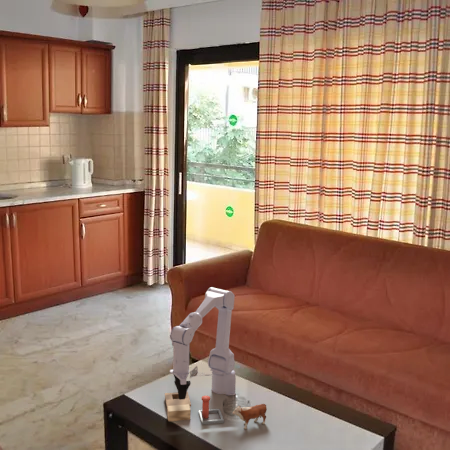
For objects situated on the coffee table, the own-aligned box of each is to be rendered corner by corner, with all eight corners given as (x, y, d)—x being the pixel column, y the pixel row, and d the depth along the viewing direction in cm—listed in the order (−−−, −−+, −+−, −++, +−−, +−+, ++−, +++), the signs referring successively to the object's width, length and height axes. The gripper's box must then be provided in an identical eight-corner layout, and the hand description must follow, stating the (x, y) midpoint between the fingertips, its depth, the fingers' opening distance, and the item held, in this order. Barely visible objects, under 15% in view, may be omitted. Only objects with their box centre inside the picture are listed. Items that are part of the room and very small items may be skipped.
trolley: (186, 396, 221) (187, 389, 220) (191, 414, 208) (191, 407, 207) (164, 398, 219) (164, 390, 218) (167, 416, 206) (167, 408, 205)
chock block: (188, 416, 207) (189, 404, 206) (190, 422, 203) (190, 409, 202) (167, 418, 205) (167, 405, 204) (168, 424, 201) (168, 411, 200)
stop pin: (205, 414, 207) (205, 394, 205) (211, 417, 205) (212, 397, 203) (199, 417, 205) (199, 397, 203) (205, 420, 203) (206, 400, 201)
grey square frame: (219, 413, 209) (219, 408, 209) (223, 425, 201) (223, 420, 201) (198, 415, 207) (198, 410, 207) (201, 426, 200) (201, 421, 199)
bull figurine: (230, 425, 201) (231, 405, 200) (263, 418, 206) (264, 398, 205) (235, 432, 197) (236, 411, 196) (269, 424, 202) (270, 404, 201)
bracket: (211, 383, 233) (211, 376, 232) (190, 379, 237) (190, 371, 236) (217, 377, 239) (217, 369, 238) (196, 372, 242) (196, 365, 242)
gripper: (168, 351, 206) (167, 385, 208) (172, 368, 192) (171, 404, 194) (187, 350, 207) (186, 383, 210) (192, 367, 193) (191, 403, 196)
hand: (180, 393), depth 202 cm, fingers open, 7 cm apart
